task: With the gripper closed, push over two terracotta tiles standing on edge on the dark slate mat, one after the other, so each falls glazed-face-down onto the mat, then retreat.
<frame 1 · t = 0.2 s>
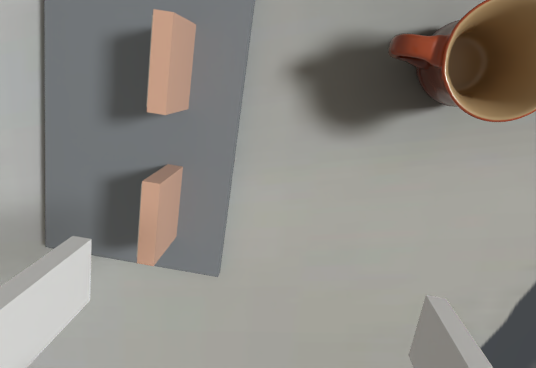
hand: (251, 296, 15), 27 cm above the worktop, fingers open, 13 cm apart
tile a: (183, 66, 38), point 1 cm above the worktop, touching mat
mat: (143, 129, 41), on the worktop
mug: (434, 62, 38), on the worktop
tile b: (171, 201, 42), point 1 cm above the worktop, touching mat
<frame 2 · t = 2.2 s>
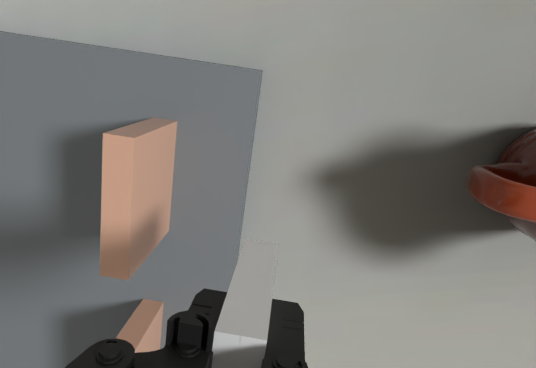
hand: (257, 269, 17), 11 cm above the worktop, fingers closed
tile a: (160, 176, 27), point 1 cm above the worktop, touching mat
mat: (109, 249, 30), on the worktop
mug: (515, 170, 26), on the worktop
tile b: (149, 343, 31), point 1 cm above the worktop, touching mat
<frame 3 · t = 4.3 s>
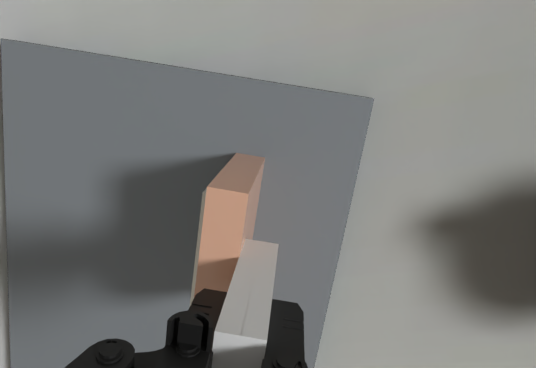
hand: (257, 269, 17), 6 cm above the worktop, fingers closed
tile a: (239, 222, 22), point 1 cm above the worktop, touching gripper, mat
mat: (167, 303, 26), on the worktop
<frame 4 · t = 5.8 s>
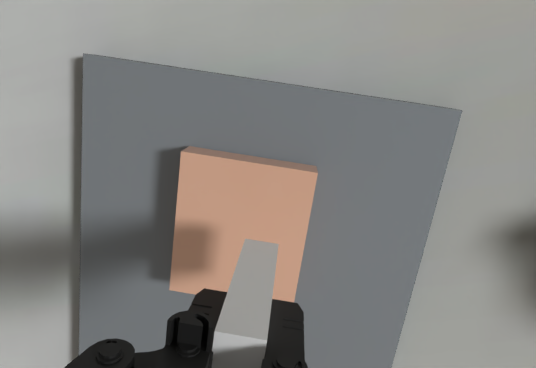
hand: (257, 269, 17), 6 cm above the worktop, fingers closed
tile a: (304, 238, 21), point 2 cm above the worktop, tilted 90°, touching mat
mat: (237, 316, 25), on the worktop
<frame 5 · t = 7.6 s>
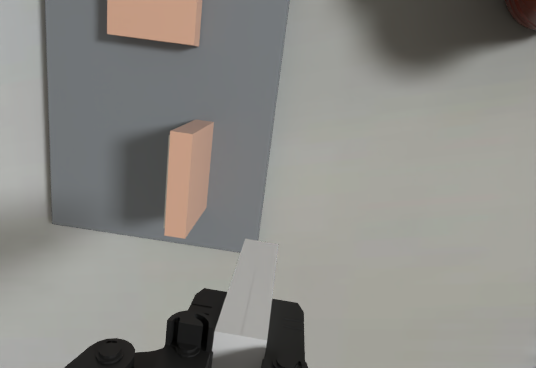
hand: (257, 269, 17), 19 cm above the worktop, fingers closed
mat: (165, 78, 34), on the worktop
tile b: (200, 164, 35), point 1 cm above the worktop, touching mat
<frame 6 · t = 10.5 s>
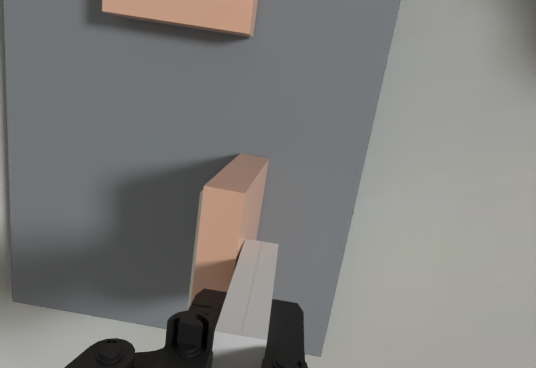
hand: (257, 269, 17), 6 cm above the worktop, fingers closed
mat: (192, 87, 22), on the worktop
tile b: (243, 223, 22), point 1 cm above the worktop, touching gripper, mat
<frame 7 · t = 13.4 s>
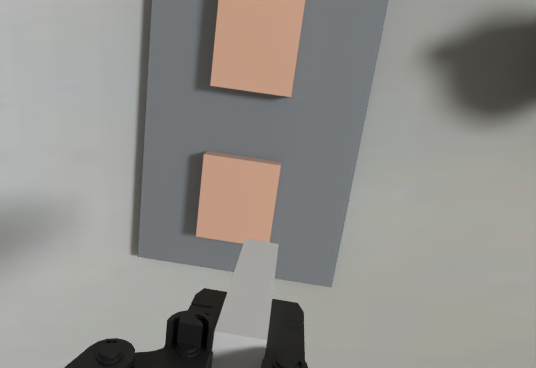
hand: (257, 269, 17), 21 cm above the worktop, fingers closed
tile a: (298, 49, 33), point 2 cm above the worktop, tilted 90°, touching mat
mat: (253, 123, 37), on the worktop
tile b: (275, 204, 37), point 2 cm above the worktop, tilted 90°, touching mat
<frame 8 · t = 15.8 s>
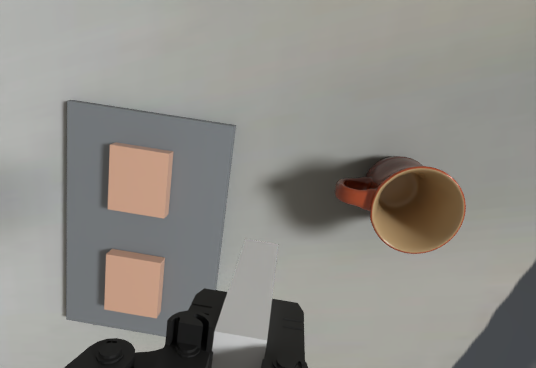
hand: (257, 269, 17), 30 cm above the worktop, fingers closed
tile a: (169, 184, 47), point 2 cm above the worktop, tilted 90°, touching mat
mat: (146, 228, 51), on the worktop
mug: (378, 180, 47), on the worktop
tile b: (161, 287, 50), point 2 cm above the worktop, tilted 90°, touching mat
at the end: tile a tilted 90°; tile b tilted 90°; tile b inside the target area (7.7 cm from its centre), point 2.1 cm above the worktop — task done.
